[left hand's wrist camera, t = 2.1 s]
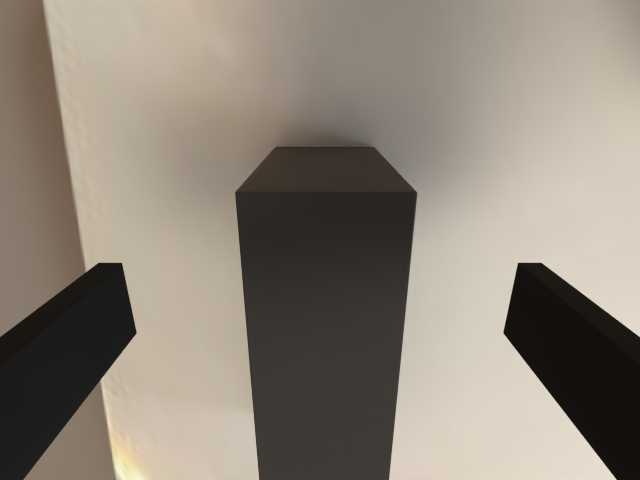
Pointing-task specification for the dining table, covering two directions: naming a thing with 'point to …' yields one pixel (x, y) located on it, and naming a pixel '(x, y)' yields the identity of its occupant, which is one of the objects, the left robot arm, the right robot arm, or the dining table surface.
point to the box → (325, 308)
